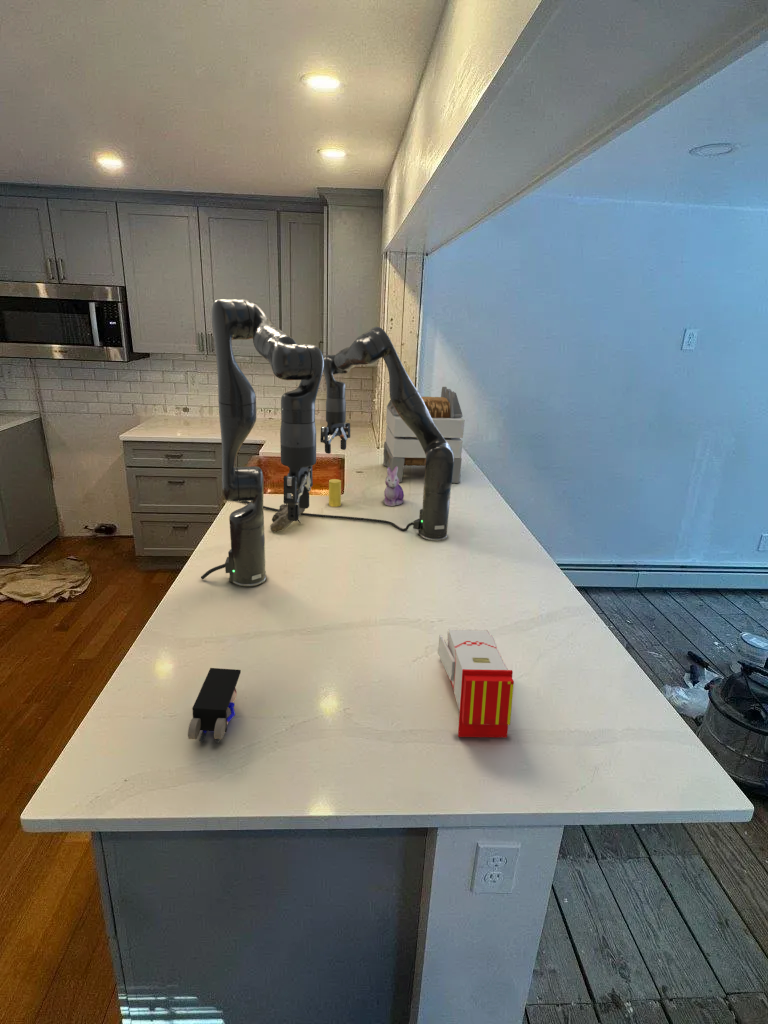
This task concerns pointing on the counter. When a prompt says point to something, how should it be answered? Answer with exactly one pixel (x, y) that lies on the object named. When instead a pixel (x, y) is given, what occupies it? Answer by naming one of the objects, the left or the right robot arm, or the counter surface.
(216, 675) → the figurine character
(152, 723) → the counter surface
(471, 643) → the toy
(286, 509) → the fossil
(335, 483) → the canister
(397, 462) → the grey slatted crate
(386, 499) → the figurine
